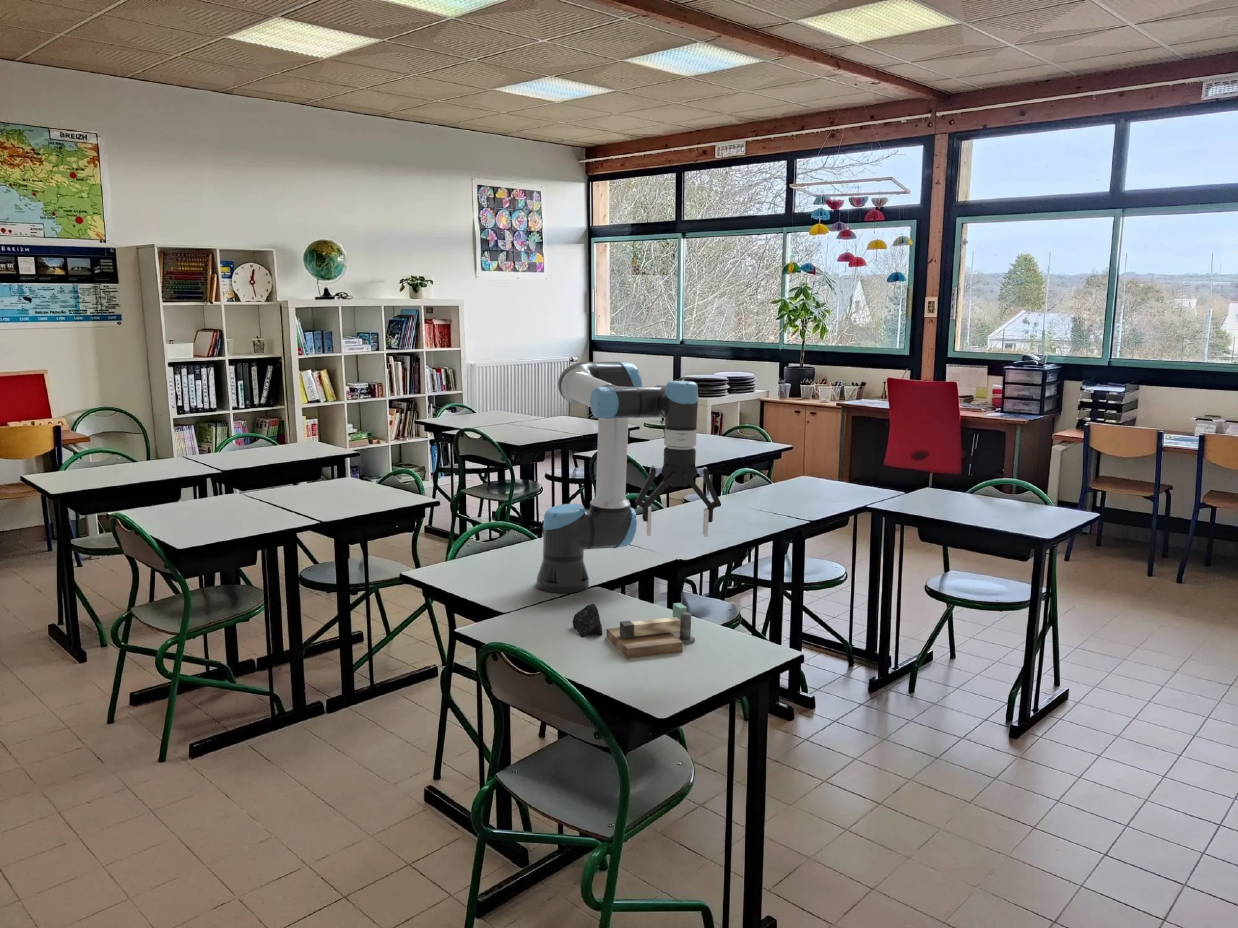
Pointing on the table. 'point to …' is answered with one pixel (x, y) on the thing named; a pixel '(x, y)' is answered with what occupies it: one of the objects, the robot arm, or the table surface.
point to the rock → (588, 622)
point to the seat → (653, 641)
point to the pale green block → (678, 610)
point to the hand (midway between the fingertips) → (676, 535)
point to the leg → (649, 627)
